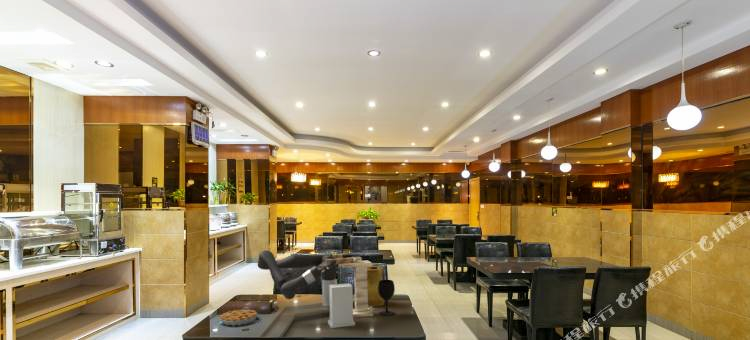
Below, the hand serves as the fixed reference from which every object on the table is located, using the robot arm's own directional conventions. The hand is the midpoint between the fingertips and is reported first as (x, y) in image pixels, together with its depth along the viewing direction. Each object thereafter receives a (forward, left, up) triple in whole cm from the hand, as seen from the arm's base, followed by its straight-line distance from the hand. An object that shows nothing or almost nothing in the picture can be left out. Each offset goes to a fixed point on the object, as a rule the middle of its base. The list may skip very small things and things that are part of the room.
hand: (334, 260), depth 255 cm
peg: (0, +6, -2) cm, 6 cm away
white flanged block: (+15, +1, -34) cm, 37 cm away
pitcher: (-20, +31, -35) cm, 50 cm away
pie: (-13, -56, -35) cm, 68 cm away
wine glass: (+5, +32, -35) cm, 47 cm away
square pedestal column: (0, +14, -34) cm, 37 cm away
